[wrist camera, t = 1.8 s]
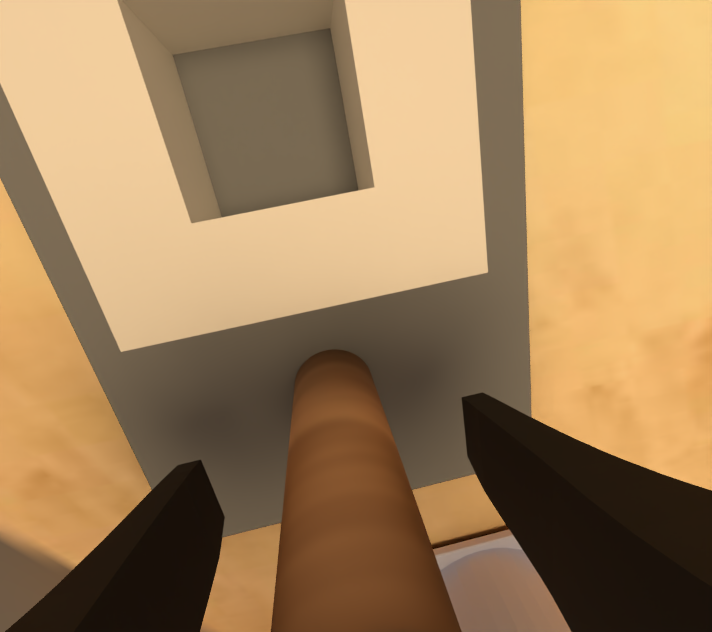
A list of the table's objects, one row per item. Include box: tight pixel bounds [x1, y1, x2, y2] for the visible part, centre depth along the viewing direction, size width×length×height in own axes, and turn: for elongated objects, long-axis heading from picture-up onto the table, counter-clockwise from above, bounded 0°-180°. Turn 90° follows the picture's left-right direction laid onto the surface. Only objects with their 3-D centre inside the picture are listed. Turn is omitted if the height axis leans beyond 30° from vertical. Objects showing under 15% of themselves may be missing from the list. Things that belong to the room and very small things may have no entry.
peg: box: [271, 349, 462, 632], centre depth 9 cm, size 3×3×9 cm
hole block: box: [0, 0, 488, 352], centre depth 9 cm, size 10×10×3 cm
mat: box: [0, 0, 531, 537], centre depth 12 cm, size 22×16×1 cm
